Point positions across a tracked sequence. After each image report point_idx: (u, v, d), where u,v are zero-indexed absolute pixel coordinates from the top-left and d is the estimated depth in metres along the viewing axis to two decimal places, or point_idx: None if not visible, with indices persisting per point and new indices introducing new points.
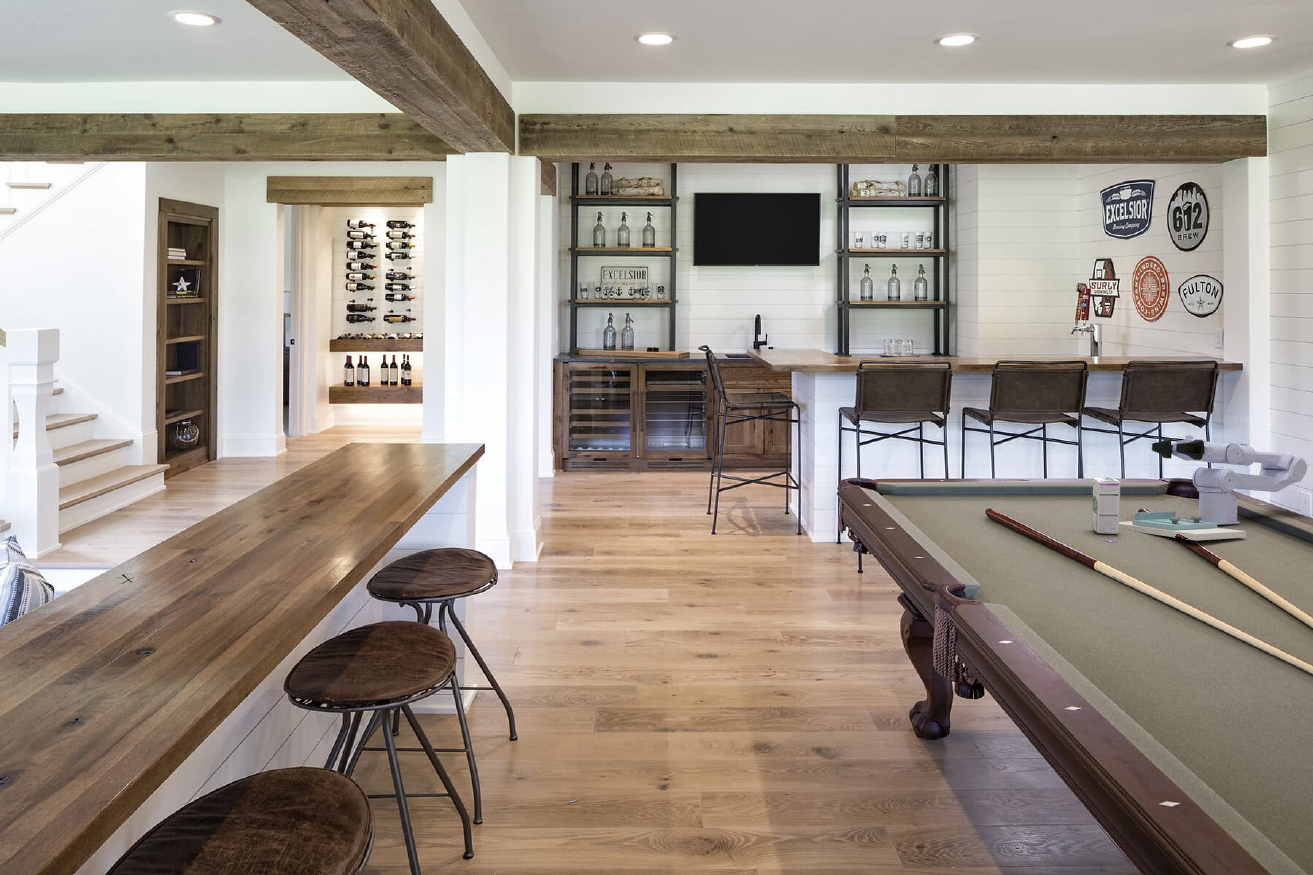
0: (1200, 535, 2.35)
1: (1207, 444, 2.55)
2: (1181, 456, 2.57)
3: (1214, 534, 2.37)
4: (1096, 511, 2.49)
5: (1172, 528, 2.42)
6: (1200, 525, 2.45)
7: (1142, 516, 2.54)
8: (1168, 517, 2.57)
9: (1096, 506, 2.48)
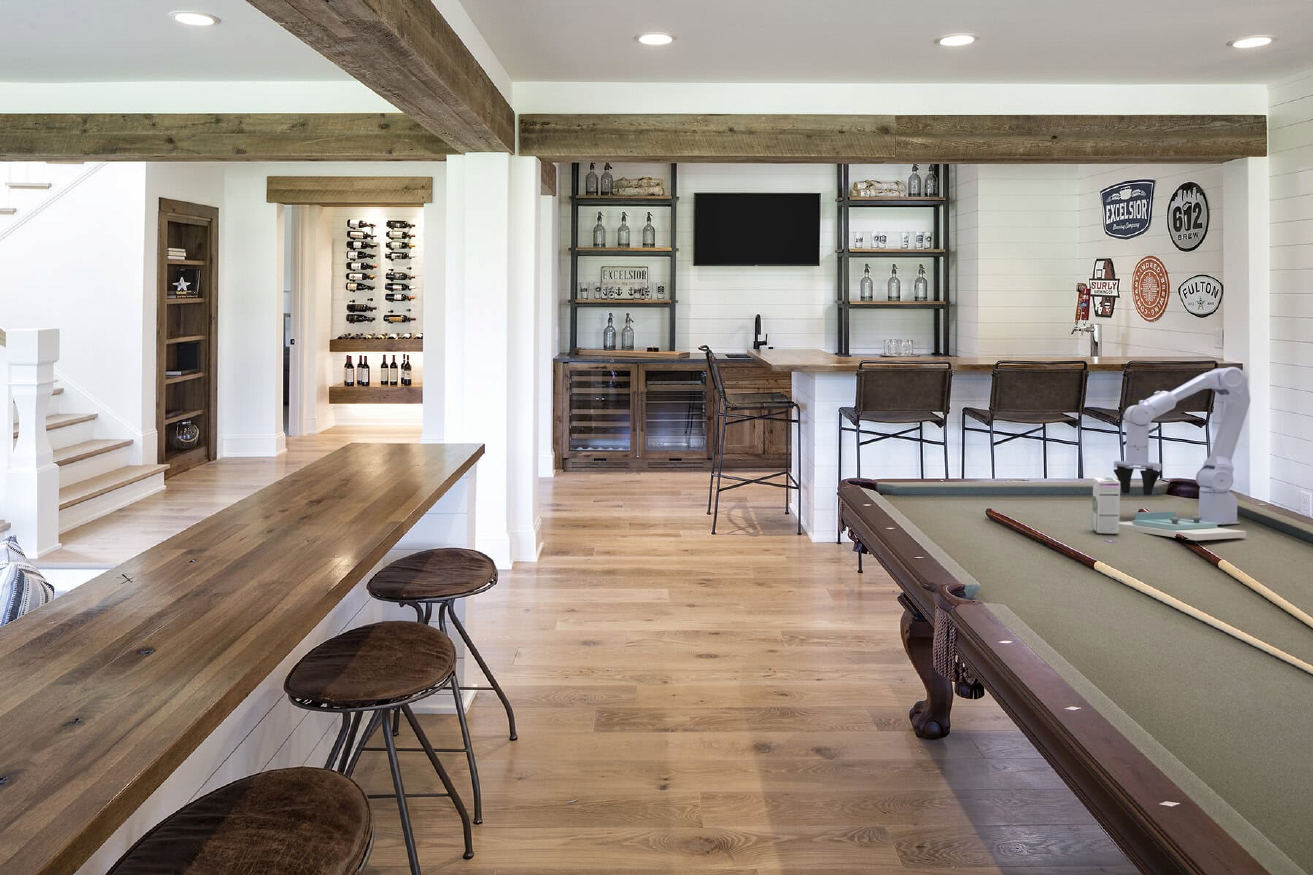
0: (1200, 535, 2.35)
1: (1138, 447, 2.59)
2: None
3: (1214, 534, 2.37)
4: (1096, 511, 2.49)
5: (1172, 528, 2.42)
6: (1200, 525, 2.45)
7: (1142, 516, 2.54)
8: (1168, 517, 2.57)
9: (1096, 506, 2.48)
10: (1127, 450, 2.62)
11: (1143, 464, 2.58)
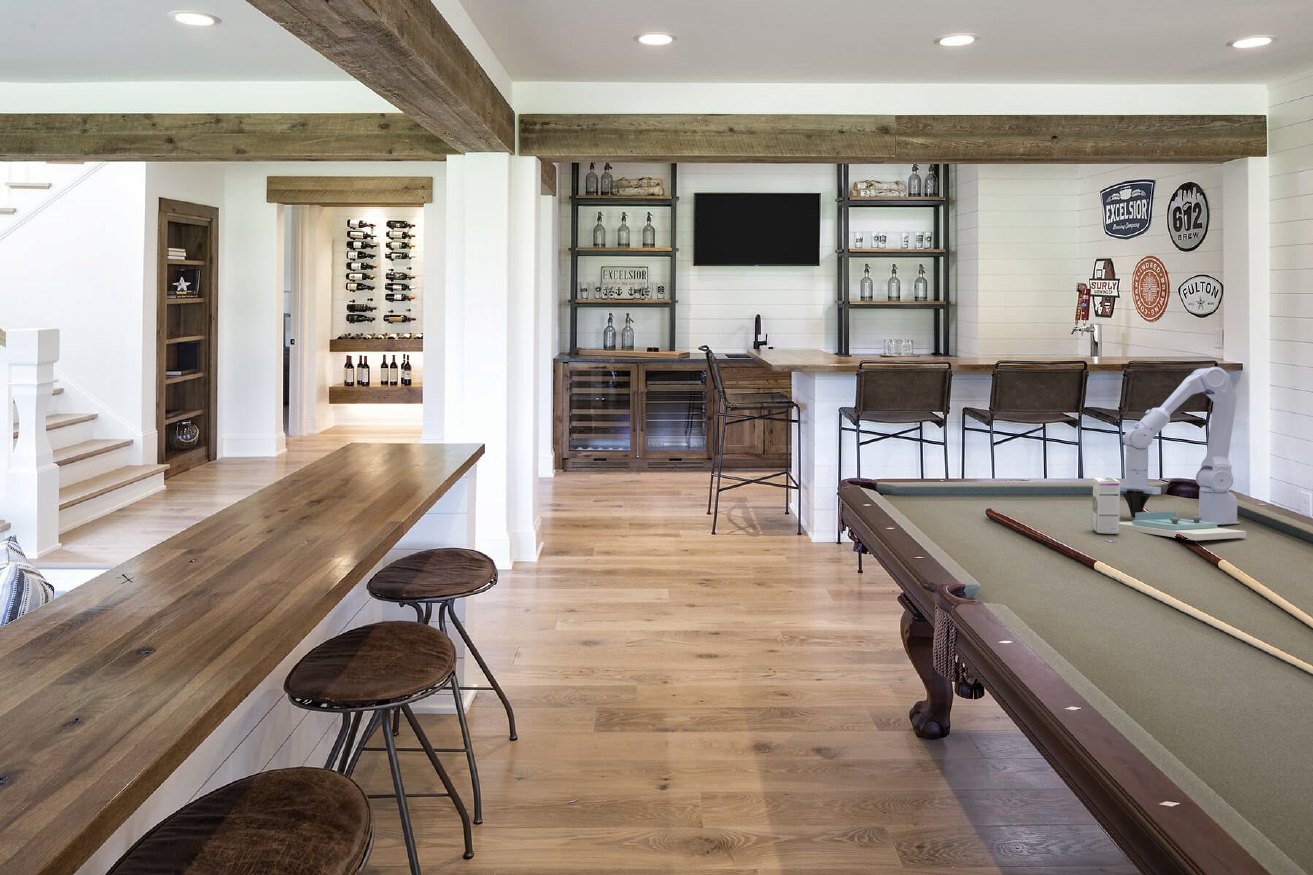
0: (1200, 535, 2.35)
1: (1137, 471, 2.59)
2: None
3: (1214, 534, 2.37)
4: (1096, 511, 2.49)
5: (1172, 528, 2.42)
6: (1200, 525, 2.45)
7: (1142, 516, 2.54)
8: (1168, 517, 2.57)
9: (1096, 506, 2.48)
10: (1127, 473, 2.62)
11: (1143, 488, 2.58)
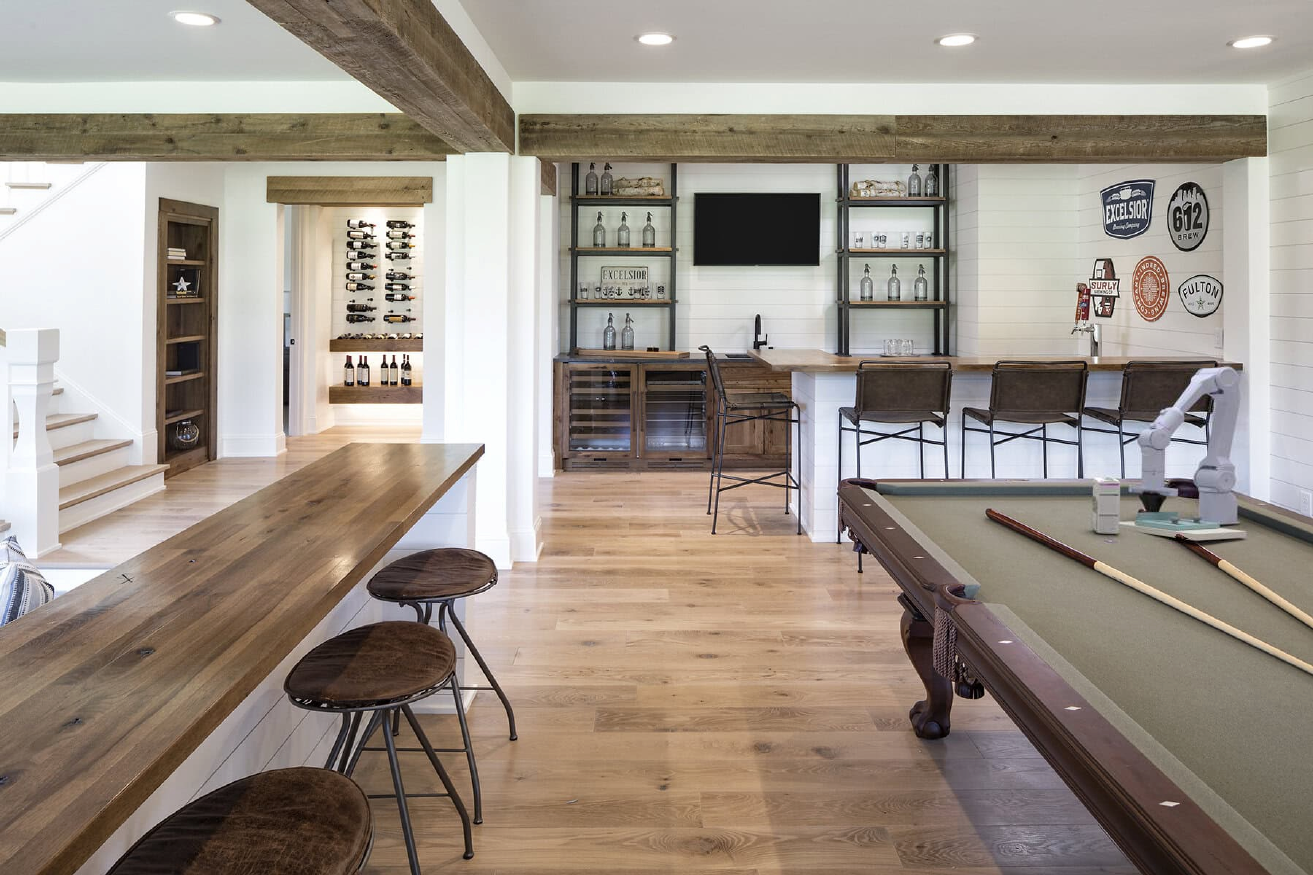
0: (1200, 535, 2.35)
1: (1154, 472, 2.54)
2: None
3: (1214, 534, 2.37)
4: (1096, 511, 2.49)
5: (1174, 528, 2.41)
6: (1202, 525, 2.45)
7: (1144, 516, 2.53)
8: None
9: (1096, 506, 2.48)
10: (1143, 475, 2.57)
11: (1159, 489, 2.53)
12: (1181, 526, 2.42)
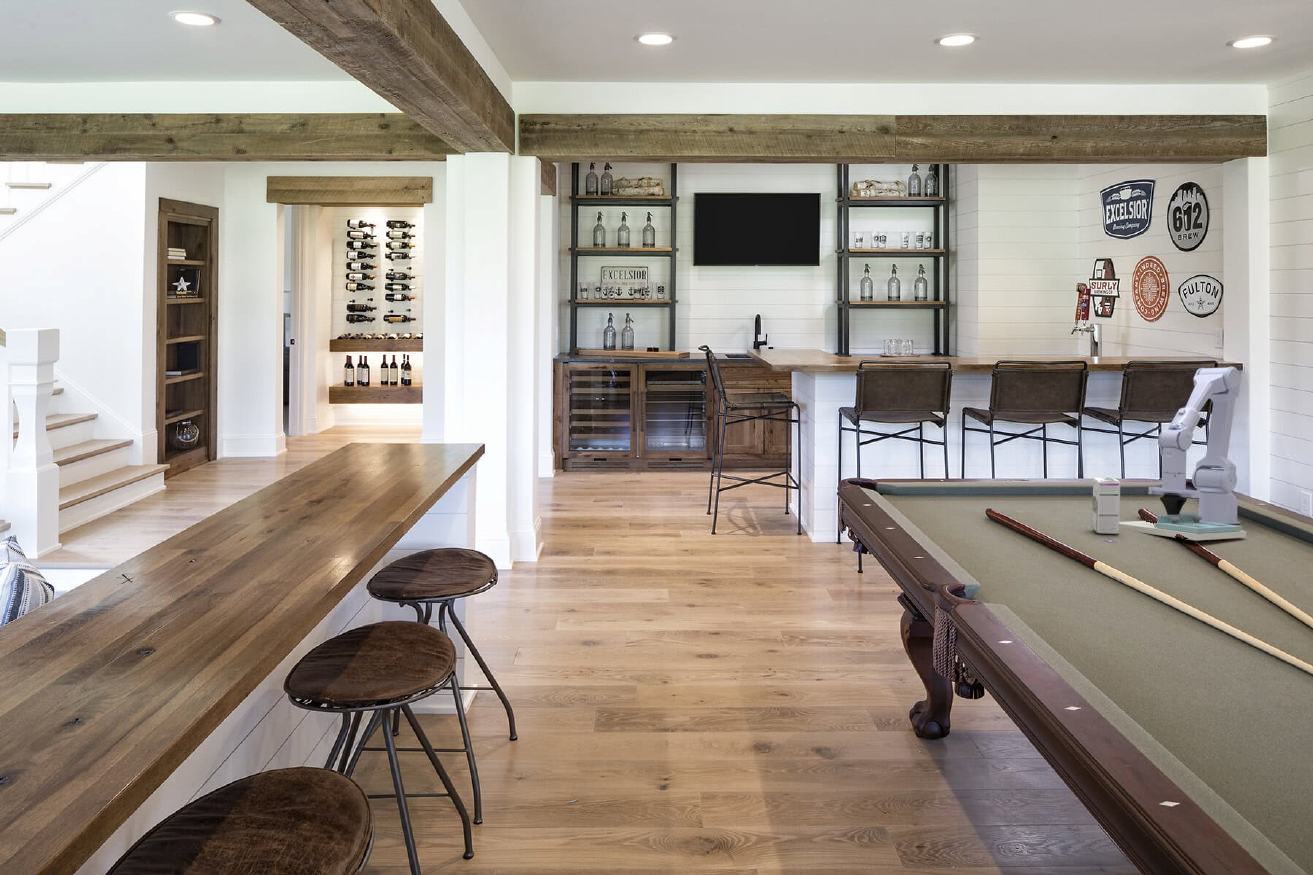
0: (1200, 535, 2.35)
1: (1175, 474, 2.48)
2: None
3: (1214, 534, 2.37)
4: (1096, 511, 2.49)
5: (1196, 531, 2.35)
6: (1225, 528, 2.39)
7: (1164, 519, 2.47)
8: (1191, 520, 2.51)
9: (1096, 506, 2.48)
10: (1163, 476, 2.51)
11: (1181, 491, 2.47)
12: (1203, 529, 2.36)
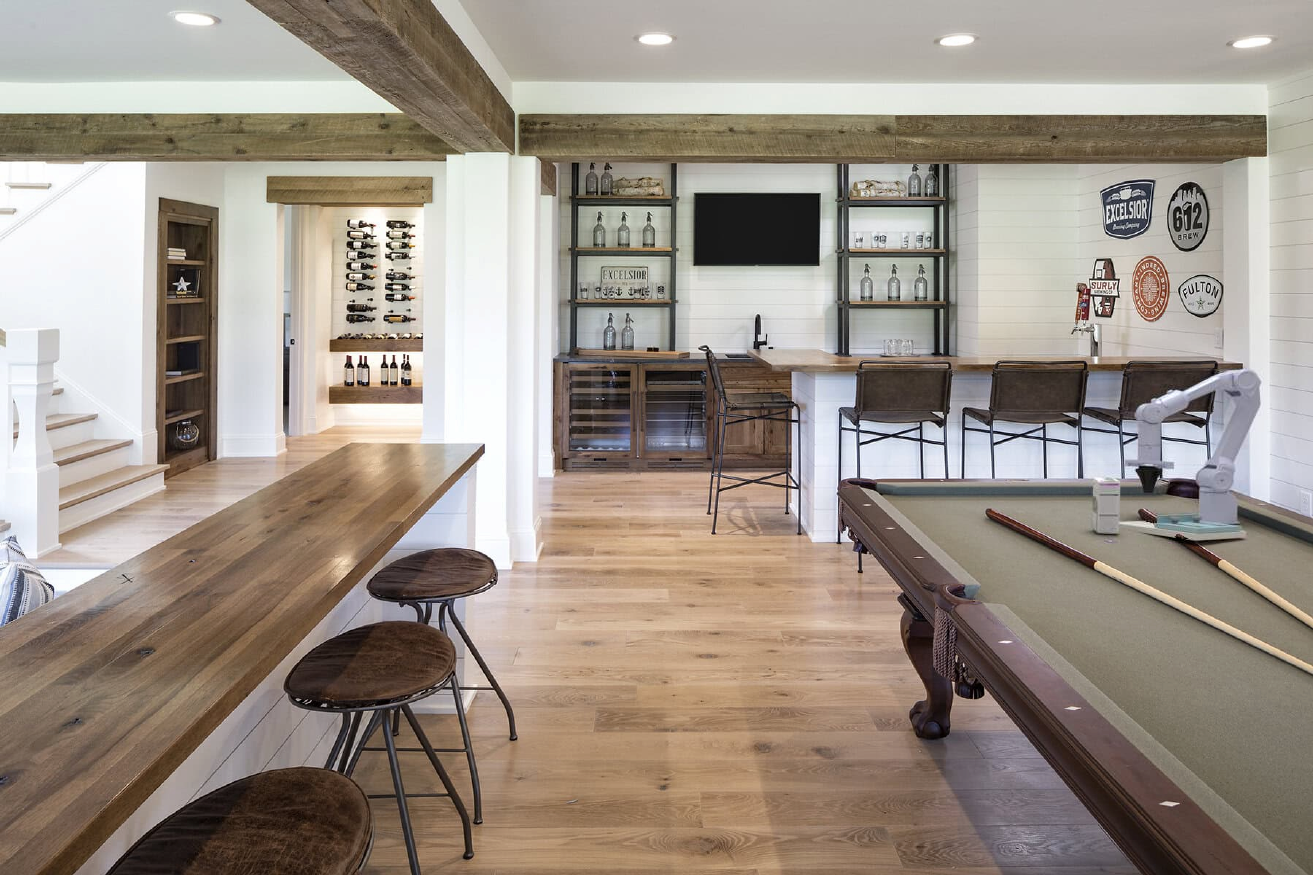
0: (1200, 535, 2.35)
1: (1150, 446, 2.59)
2: None
3: (1214, 534, 2.37)
4: (1096, 511, 2.49)
5: (1196, 531, 2.36)
6: (1224, 528, 2.39)
7: (1164, 519, 2.47)
8: (1190, 520, 2.51)
9: (1096, 506, 2.48)
10: (1139, 449, 2.61)
11: (1155, 463, 2.57)
12: (1203, 529, 2.36)
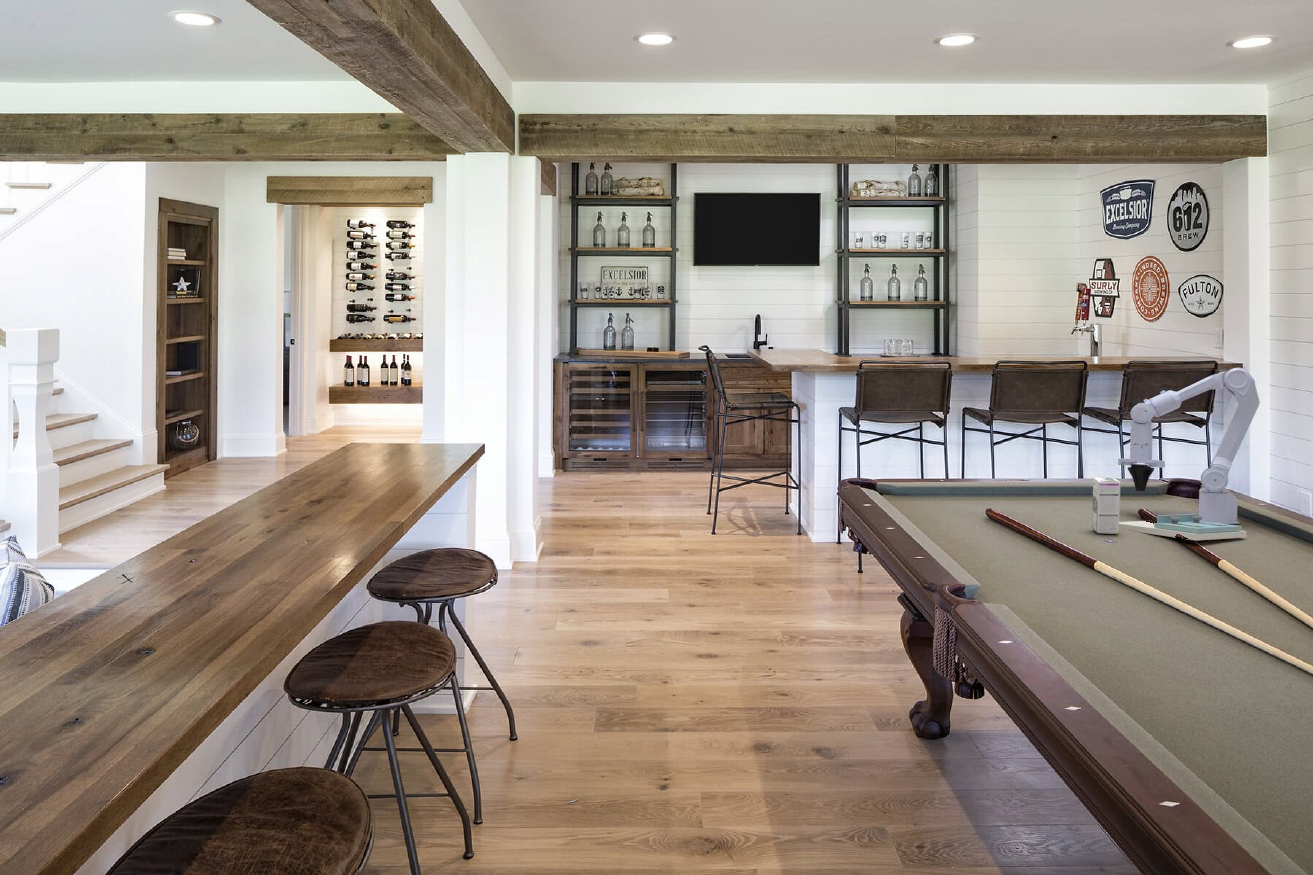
0: (1200, 535, 2.35)
1: (1142, 445, 2.65)
2: None
3: (1214, 534, 2.37)
4: (1096, 511, 2.49)
5: (1196, 531, 2.36)
6: (1224, 528, 2.39)
7: (1164, 519, 2.47)
8: (1190, 520, 2.51)
9: (1096, 506, 2.48)
10: (1131, 448, 2.68)
11: (1147, 461, 2.64)
12: (1203, 529, 2.36)
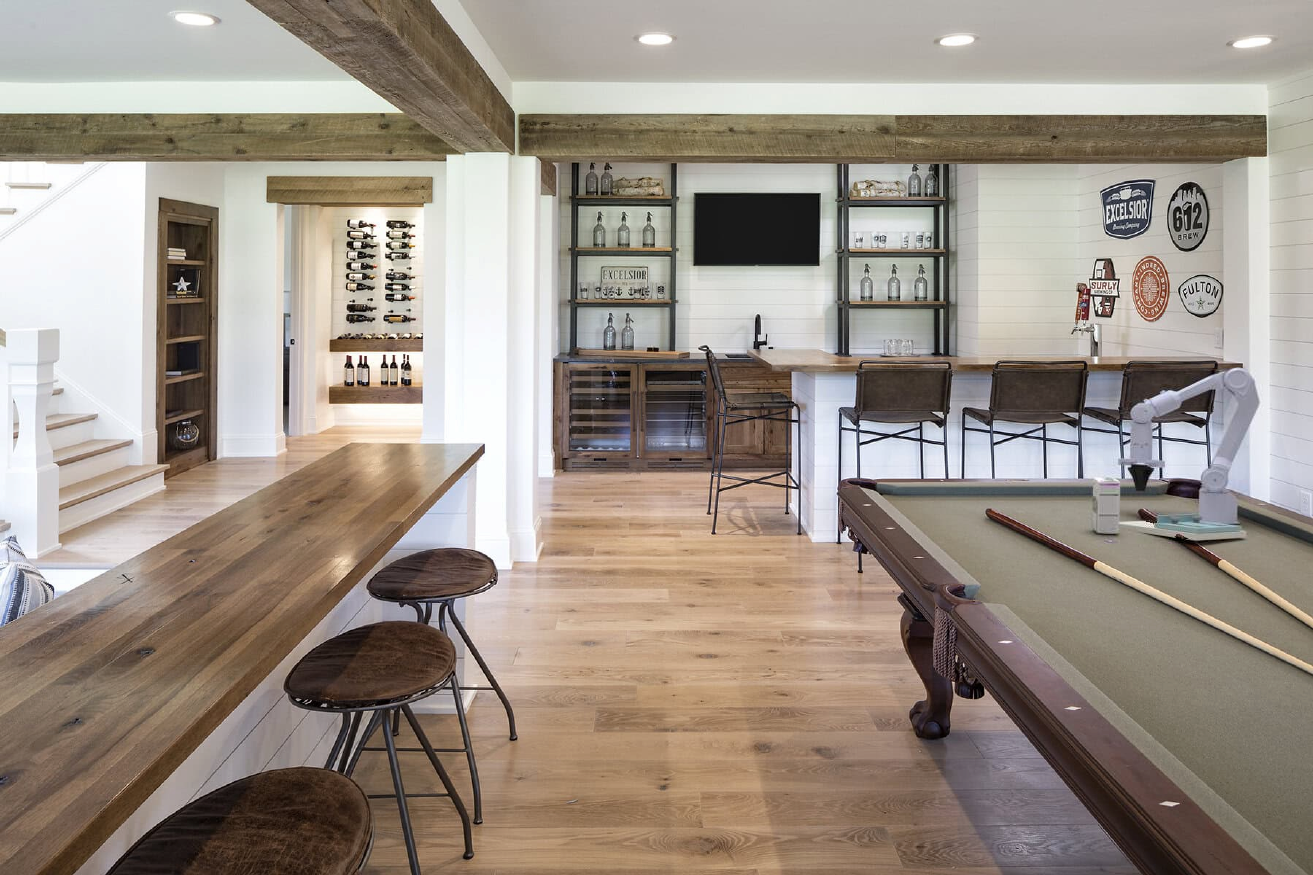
0: (1200, 535, 2.35)
1: (1142, 445, 2.65)
2: None
3: (1214, 534, 2.37)
4: (1096, 511, 2.49)
5: (1196, 531, 2.36)
6: (1224, 528, 2.39)
7: (1164, 519, 2.47)
8: (1190, 520, 2.51)
9: (1096, 506, 2.48)
10: (1131, 448, 2.68)
11: (1147, 461, 2.64)
12: (1203, 529, 2.36)
